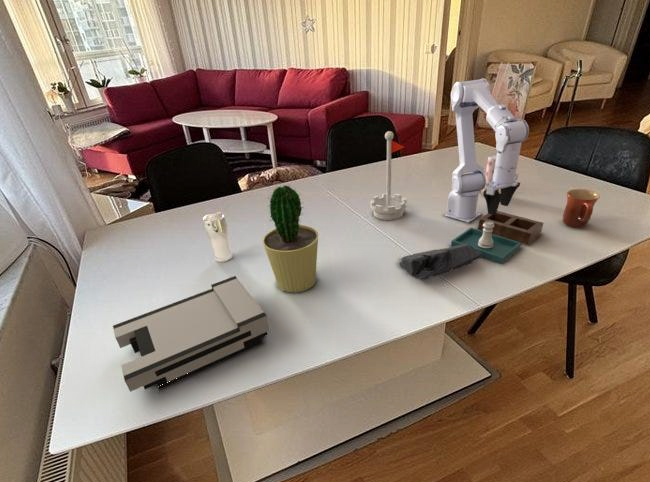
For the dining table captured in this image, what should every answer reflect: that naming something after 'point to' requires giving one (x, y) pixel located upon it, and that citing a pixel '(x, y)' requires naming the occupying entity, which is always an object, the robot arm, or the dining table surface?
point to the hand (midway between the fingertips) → (498, 209)
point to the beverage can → (490, 170)
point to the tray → (497, 253)
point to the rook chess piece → (486, 236)
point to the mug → (579, 207)
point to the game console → (191, 335)
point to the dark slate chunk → (439, 260)
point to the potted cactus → (290, 243)
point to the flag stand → (389, 189)
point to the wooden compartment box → (512, 227)
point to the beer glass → (218, 235)
